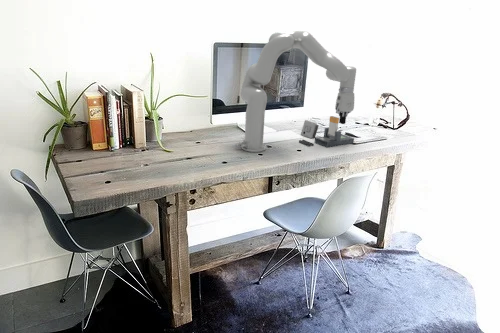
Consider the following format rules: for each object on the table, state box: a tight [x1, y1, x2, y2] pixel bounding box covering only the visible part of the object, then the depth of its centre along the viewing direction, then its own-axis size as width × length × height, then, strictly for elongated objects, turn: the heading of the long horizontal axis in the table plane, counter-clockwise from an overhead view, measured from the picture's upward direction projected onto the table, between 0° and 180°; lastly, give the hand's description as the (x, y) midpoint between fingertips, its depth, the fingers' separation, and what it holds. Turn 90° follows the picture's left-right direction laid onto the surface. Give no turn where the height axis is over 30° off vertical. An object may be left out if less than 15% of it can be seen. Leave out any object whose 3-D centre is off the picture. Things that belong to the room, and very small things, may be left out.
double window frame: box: [313, 126, 355, 149], centre depth 214 cm, size 20×10×8 cm, turn 122°
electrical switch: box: [300, 119, 320, 139], centre depth 225 cm, size 9×5×9 cm, turn 35°
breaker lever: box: [327, 115, 340, 139], centre depth 211 cm, size 2×6×12 cm, turn 32°
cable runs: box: [298, 139, 315, 147], centre depth 211 cm, size 4×9×1 cm, turn 32°
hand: (342, 123), depth 214 cm, fingers closed
